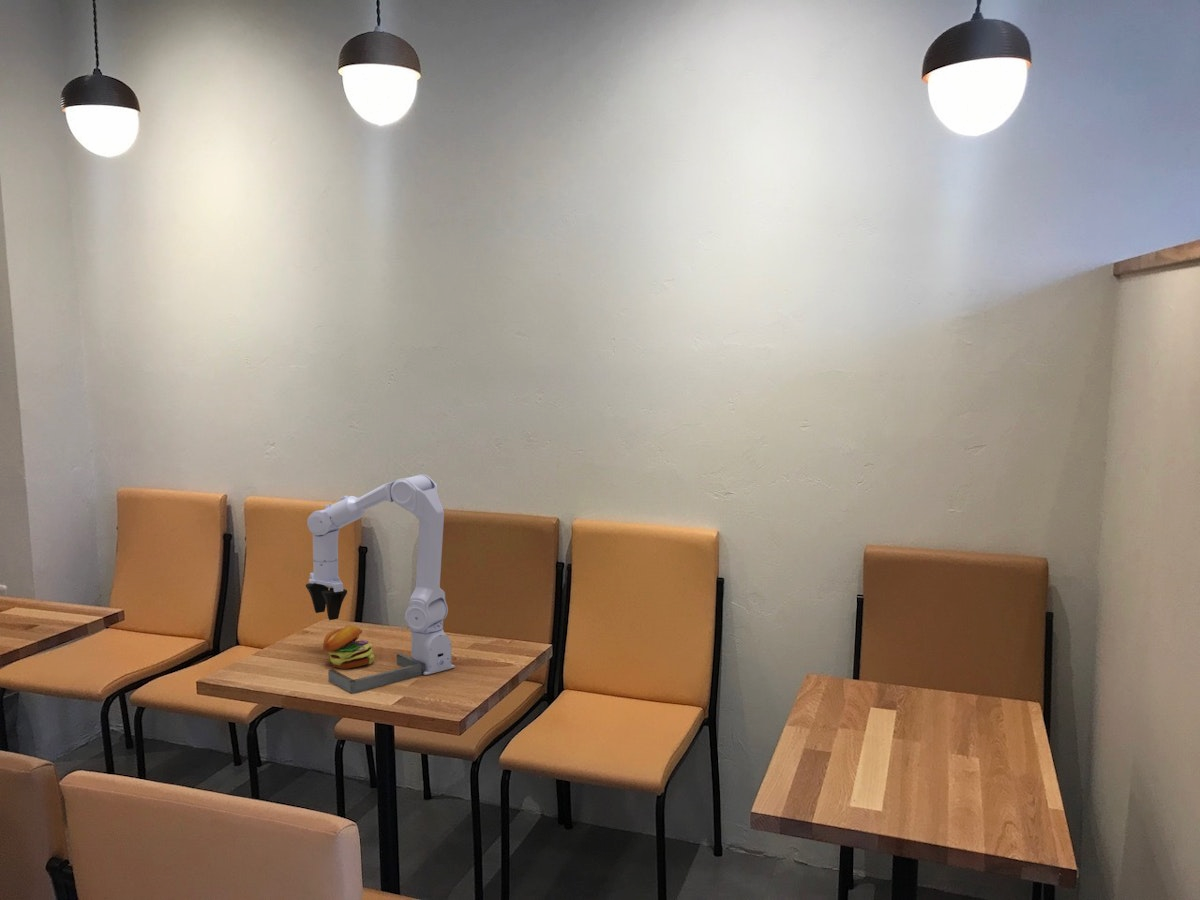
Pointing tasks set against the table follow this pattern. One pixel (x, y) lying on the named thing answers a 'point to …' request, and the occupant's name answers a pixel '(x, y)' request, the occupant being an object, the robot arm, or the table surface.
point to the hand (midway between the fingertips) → (326, 615)
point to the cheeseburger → (348, 648)
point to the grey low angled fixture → (379, 675)
